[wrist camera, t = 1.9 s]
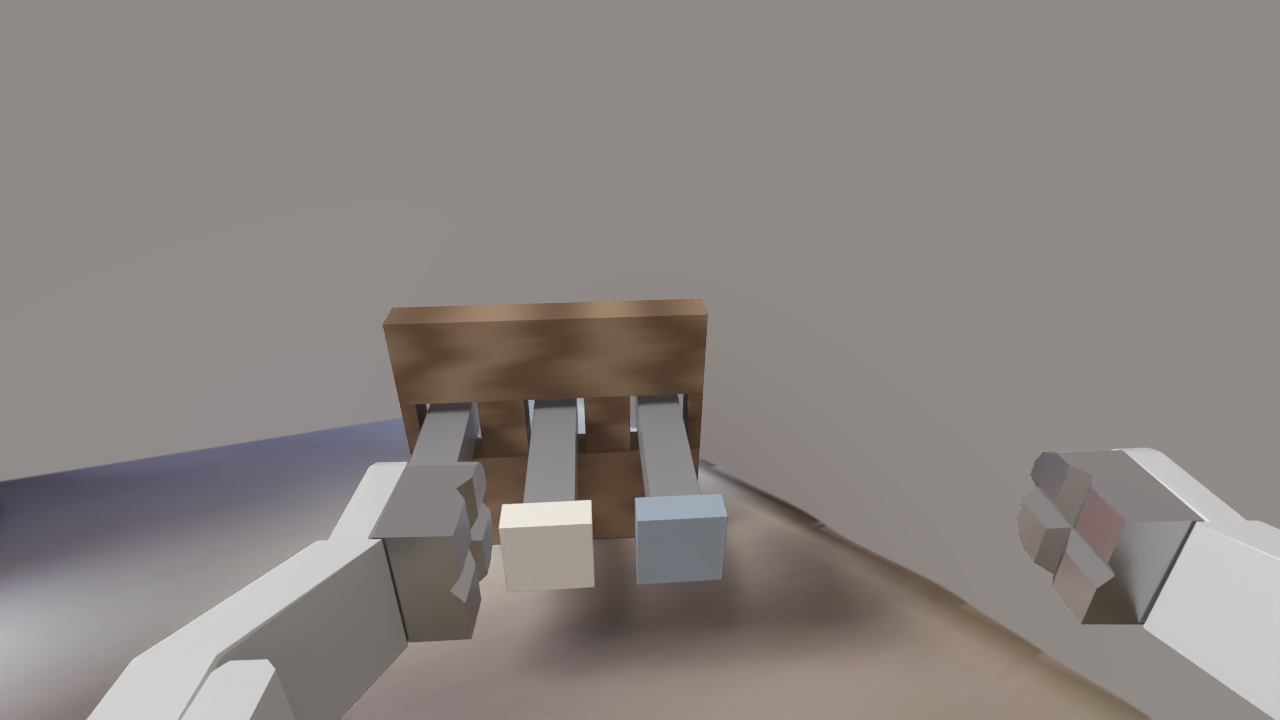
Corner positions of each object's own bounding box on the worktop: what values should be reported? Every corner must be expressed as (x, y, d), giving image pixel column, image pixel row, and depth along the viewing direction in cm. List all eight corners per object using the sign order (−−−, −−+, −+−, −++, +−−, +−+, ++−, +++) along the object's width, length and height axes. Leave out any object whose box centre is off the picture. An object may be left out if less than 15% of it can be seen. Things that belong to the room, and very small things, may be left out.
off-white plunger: (507, 592, 30) (498, 528, 28) (527, 431, 41) (521, 376, 39) (594, 587, 31) (591, 523, 28) (591, 428, 41) (588, 374, 39)
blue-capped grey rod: (637, 584, 31) (637, 521, 29) (622, 427, 41) (622, 373, 39) (721, 579, 31) (727, 516, 29) (685, 424, 42) (688, 370, 40)
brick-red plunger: (374, 600, 30) (355, 535, 28) (429, 435, 41) (418, 380, 39) (463, 594, 30) (451, 530, 28) (494, 432, 41) (487, 378, 39)
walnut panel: (430, 547, 42) (382, 324, 34) (436, 525, 44) (392, 307, 36) (694, 533, 43) (707, 314, 35) (689, 512, 45) (701, 298, 37)
